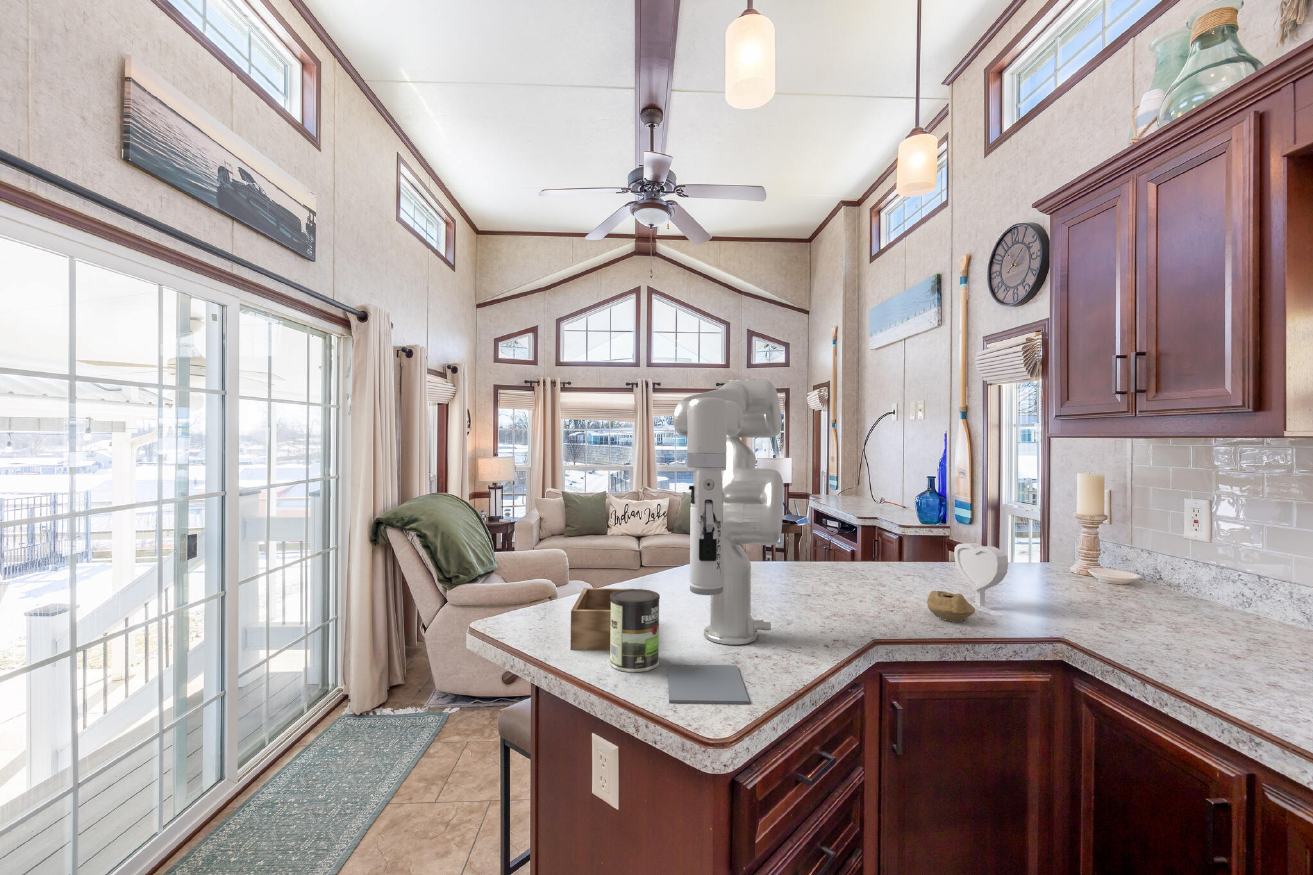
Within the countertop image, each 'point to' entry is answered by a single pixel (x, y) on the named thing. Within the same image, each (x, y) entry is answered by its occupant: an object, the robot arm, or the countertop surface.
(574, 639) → the crate
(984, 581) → the heart sculpture
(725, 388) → the robot arm
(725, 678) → the mat
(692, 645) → the countertop surface
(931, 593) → the oil lamp
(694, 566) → the travel mug
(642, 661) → the coffee can
